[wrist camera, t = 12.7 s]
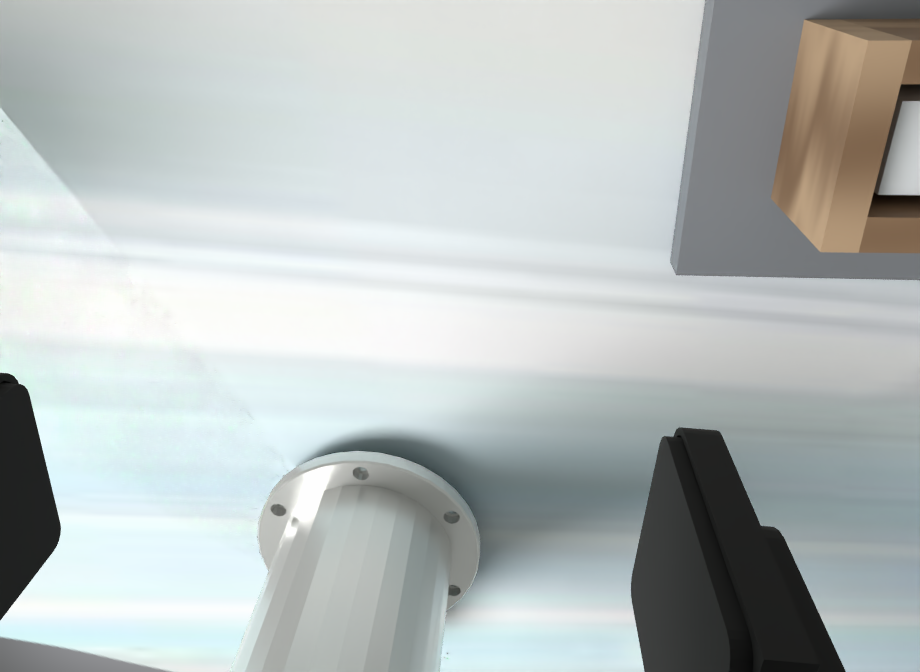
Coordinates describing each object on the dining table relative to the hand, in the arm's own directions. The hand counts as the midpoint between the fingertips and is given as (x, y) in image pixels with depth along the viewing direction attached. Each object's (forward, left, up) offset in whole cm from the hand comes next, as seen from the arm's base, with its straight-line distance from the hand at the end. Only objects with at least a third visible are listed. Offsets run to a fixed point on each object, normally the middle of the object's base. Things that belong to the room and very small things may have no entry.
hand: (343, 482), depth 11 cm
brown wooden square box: (+1, -17, -23) cm, 28 cm away
